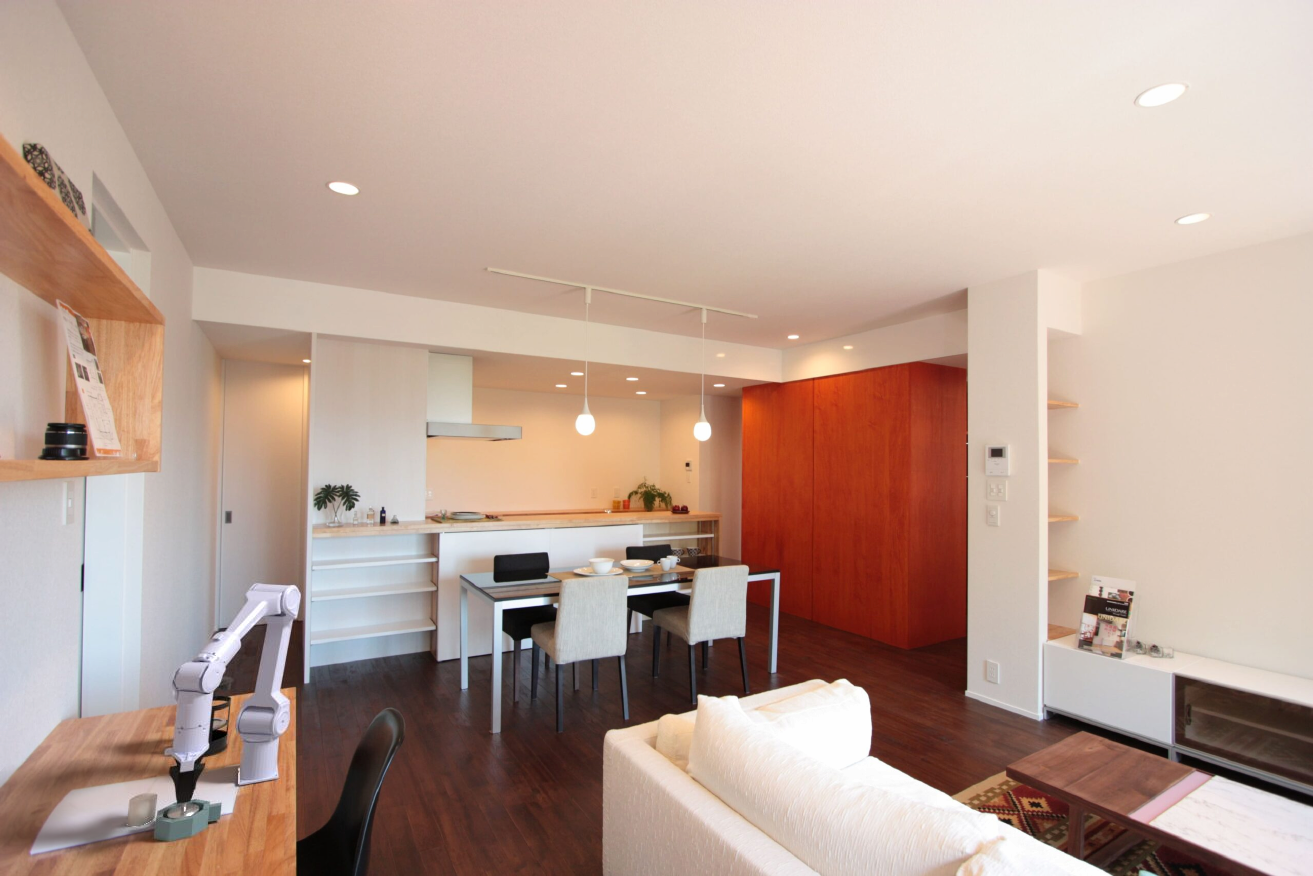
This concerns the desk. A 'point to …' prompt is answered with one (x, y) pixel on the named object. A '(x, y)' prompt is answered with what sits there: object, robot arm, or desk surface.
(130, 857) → the desk surface
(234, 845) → the desk surface
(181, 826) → the grey-green octagonal bowl
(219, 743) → the french press
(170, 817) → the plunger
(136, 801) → the cream rounded block
